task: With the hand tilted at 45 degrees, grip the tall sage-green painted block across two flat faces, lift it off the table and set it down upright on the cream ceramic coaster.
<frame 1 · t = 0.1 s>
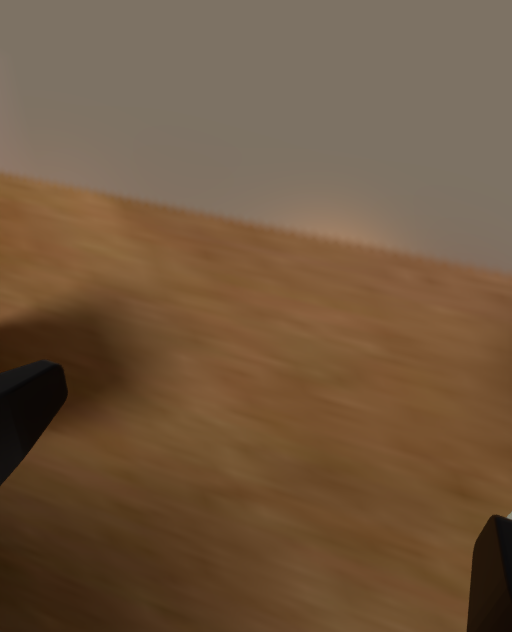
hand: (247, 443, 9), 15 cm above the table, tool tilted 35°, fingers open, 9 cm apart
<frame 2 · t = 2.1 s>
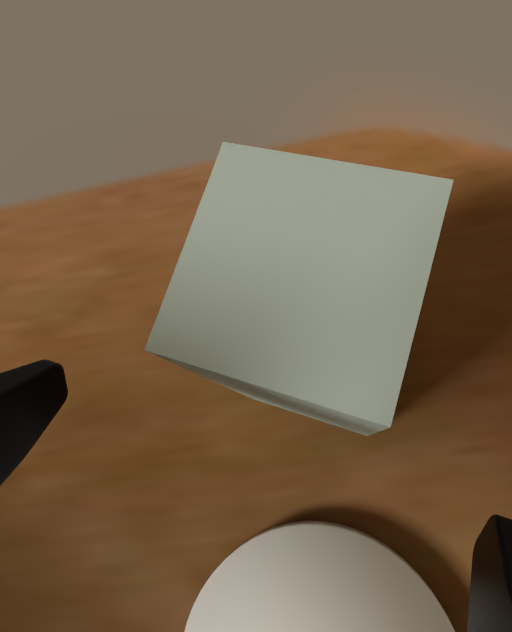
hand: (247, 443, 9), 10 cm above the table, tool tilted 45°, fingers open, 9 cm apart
sage block: (324, 360, 19), on the table
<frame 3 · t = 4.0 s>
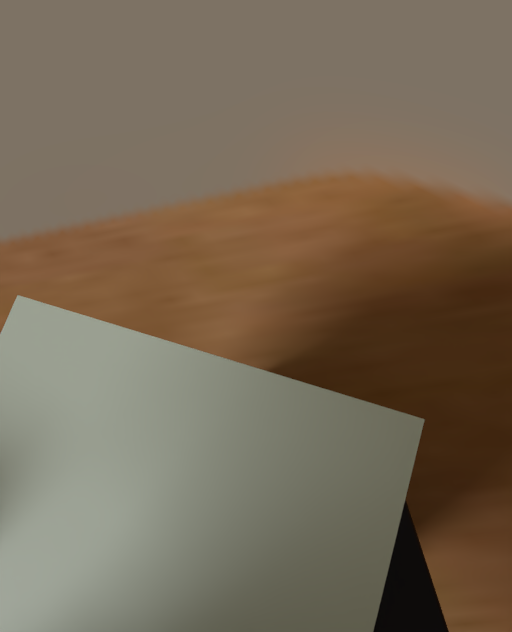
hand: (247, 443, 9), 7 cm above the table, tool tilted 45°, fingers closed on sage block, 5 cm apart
sage block: (277, 482, 15), on the table, touching gripper
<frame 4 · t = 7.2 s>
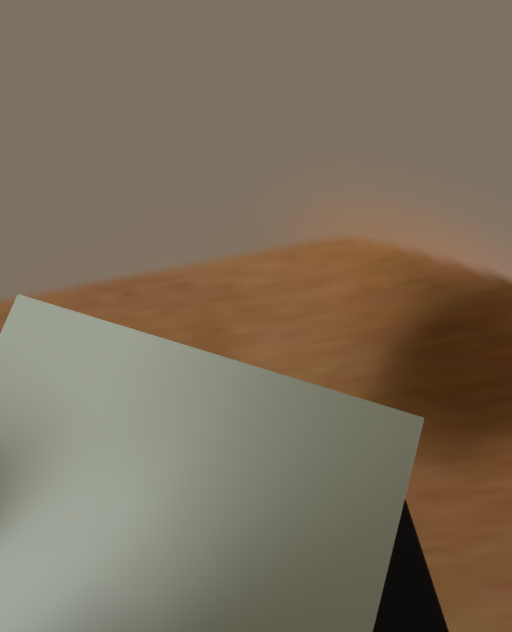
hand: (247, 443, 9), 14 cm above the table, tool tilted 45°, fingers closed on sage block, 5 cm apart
sage block: (277, 482, 15), point 7 cm above the table, touching gripper
when the fingers open (9 cm above the table, at t = 10.4 s): sage block stays where it is, resting on coaster.
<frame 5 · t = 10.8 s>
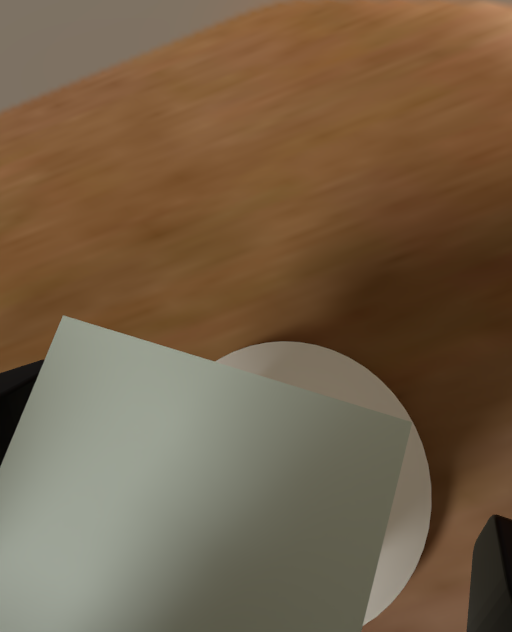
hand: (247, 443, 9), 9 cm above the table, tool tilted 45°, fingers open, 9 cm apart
sage block: (281, 480, 16), point 1 cm above the table, touching coaster
coaster: (286, 477, 17), on the table
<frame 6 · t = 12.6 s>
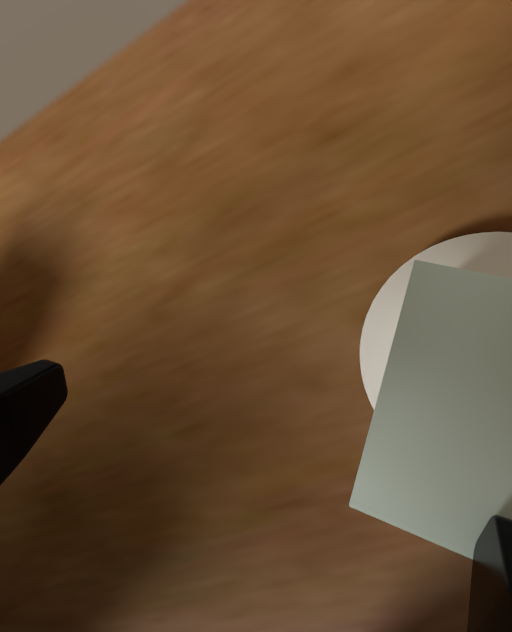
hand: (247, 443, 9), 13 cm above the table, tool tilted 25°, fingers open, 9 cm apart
sage block: (487, 359, 18), point 1 cm above the table, touching coaster, gripper
coaster: (485, 356, 19), on the table
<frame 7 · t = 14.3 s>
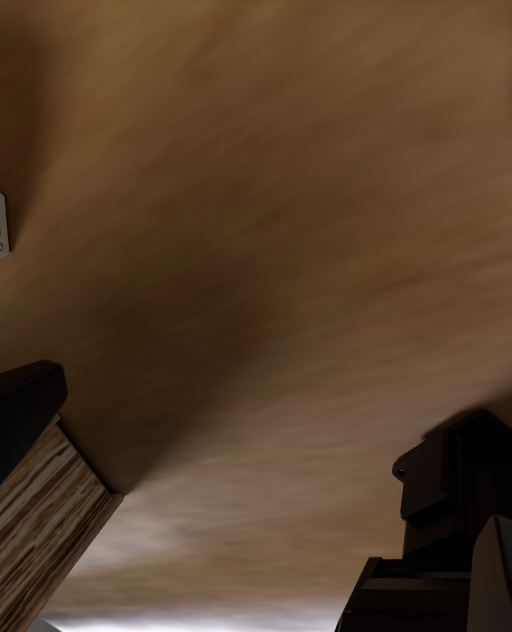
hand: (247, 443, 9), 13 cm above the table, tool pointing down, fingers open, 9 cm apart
brown striped upright block: (13, 468, 43), on the table
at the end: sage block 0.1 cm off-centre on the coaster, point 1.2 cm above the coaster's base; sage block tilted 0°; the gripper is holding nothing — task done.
